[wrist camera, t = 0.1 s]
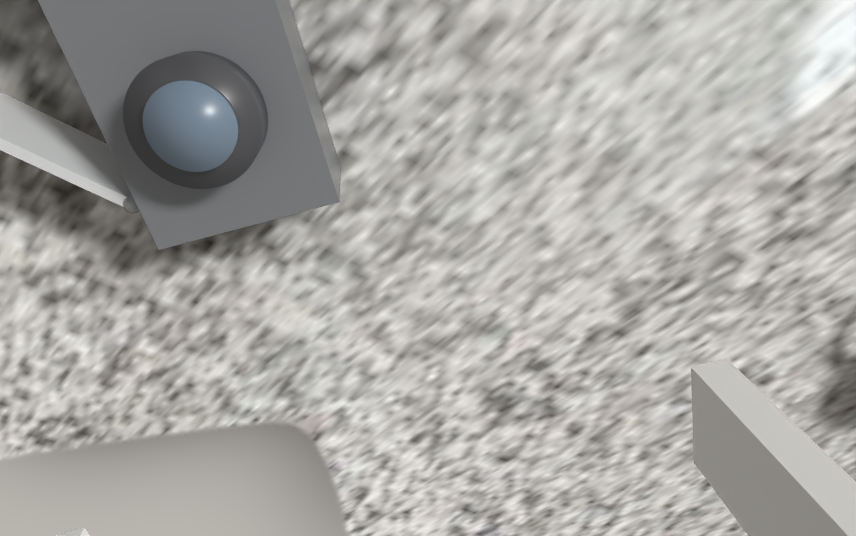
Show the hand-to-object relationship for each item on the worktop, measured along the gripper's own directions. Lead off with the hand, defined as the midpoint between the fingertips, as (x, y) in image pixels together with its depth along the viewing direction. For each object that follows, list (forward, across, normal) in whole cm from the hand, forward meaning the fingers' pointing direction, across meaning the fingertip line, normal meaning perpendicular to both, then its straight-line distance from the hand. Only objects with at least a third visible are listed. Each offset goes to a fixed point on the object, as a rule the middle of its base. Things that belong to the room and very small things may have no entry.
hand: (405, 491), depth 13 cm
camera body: (+28, -7, +9) cm, 30 cm away
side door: (+27, -15, +6) cm, 32 cm away
